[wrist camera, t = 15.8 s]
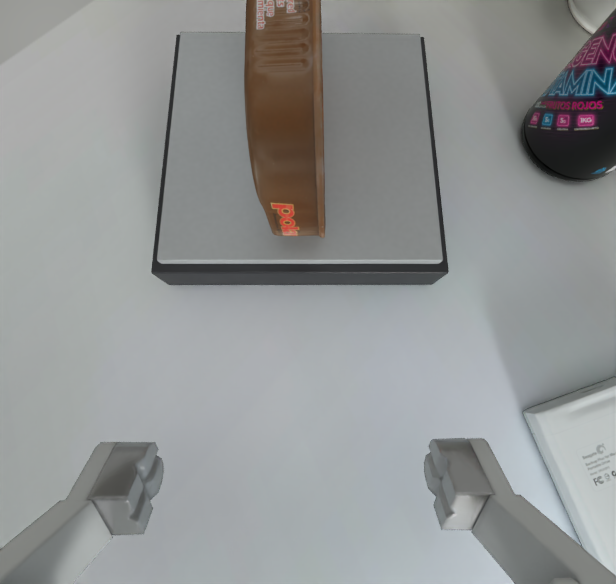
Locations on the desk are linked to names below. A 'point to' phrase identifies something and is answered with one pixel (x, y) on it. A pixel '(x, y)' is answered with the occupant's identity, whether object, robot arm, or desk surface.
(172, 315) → the desk surface
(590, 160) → the supplement container
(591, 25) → the lidded bowl
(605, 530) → the hard drive
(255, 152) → the tin
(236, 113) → the scale
